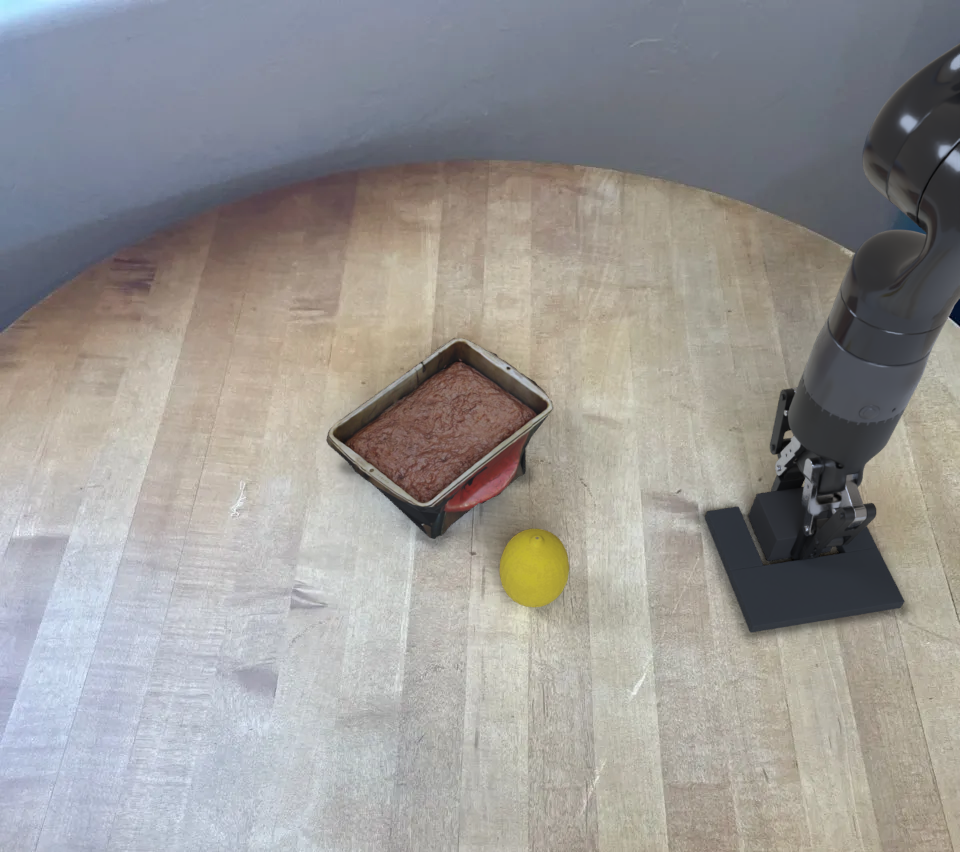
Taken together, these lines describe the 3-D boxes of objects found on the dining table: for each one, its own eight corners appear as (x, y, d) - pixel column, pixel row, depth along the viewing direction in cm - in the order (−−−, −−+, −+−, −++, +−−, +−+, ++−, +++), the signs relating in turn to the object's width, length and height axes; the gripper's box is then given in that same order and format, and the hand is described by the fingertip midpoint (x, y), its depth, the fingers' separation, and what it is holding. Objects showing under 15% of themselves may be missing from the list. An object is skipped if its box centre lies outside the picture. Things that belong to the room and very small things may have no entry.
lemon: (574, 584, 83) (584, 524, 76) (549, 634, 80) (556, 577, 74) (514, 561, 84) (518, 500, 78) (487, 610, 82) (489, 552, 75)
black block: (808, 506, 87) (819, 484, 84) (830, 552, 84) (841, 530, 82) (747, 515, 86) (756, 493, 84) (767, 561, 84) (776, 539, 81)
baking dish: (558, 488, 91) (574, 397, 84) (409, 575, 82) (412, 482, 75) (453, 412, 97) (459, 321, 90) (305, 485, 89) (298, 391, 81)
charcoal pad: (843, 500, 88) (848, 489, 87) (898, 611, 82) (905, 601, 81) (703, 521, 87) (706, 510, 86) (748, 636, 81) (753, 626, 79)
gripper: (951, 448, 67) (865, 591, 81) (868, 306, 74) (802, 461, 89) (846, 463, 66) (778, 605, 81) (772, 318, 73) (722, 472, 88)
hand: (791, 528), depth 85 cm, fingers closed on black block, 5 cm apart
